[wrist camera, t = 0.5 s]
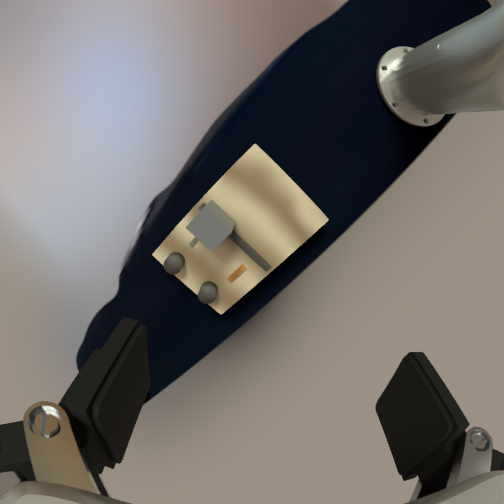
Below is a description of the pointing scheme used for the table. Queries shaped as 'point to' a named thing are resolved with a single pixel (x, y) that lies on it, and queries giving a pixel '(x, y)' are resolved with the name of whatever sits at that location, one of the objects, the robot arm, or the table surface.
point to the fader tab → (211, 225)
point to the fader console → (242, 231)
